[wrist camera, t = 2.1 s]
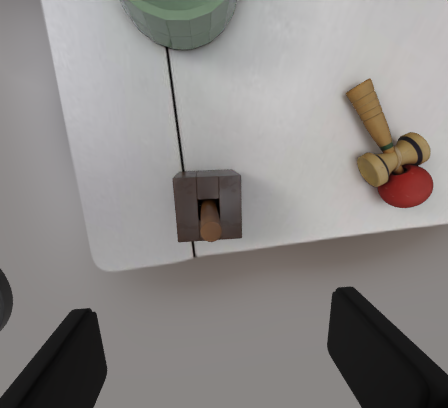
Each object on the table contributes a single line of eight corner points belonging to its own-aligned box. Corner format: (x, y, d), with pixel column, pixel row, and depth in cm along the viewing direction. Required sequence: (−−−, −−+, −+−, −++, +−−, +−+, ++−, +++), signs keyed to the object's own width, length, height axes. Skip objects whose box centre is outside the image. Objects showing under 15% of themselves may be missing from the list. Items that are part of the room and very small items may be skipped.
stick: (201, 203, 32) (200, 242, 19) (200, 190, 32) (199, 222, 18) (214, 202, 32) (222, 241, 19) (213, 190, 32) (221, 221, 18)
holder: (183, 223, 33) (178, 242, 26) (179, 171, 31) (172, 178, 24) (233, 220, 33) (241, 238, 27) (232, 169, 32) (240, 175, 25)
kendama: (316, 111, 32) (373, 218, 34) (348, 90, 26) (416, 222, 28) (358, 85, 33) (411, 190, 35) (398, 59, 27) (460, 189, 29)
